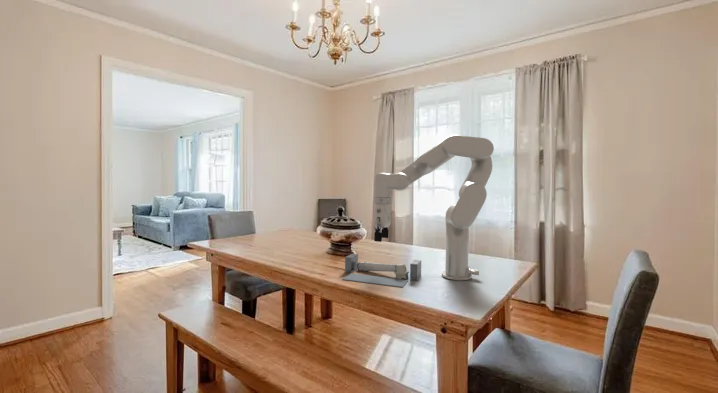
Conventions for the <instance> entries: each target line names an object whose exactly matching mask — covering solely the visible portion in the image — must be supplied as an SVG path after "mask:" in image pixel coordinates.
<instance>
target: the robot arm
mask: <svg viewBox="0 0 718 393" xmlns="http://www.w3.org/2000/svg"><path fill="white" fill-rule="evenodd" d="M493 153H494V144H493V142H492V141H491V139H488V138H485V137H478V136H469V135H462V134H461V135H460V134H452V135H449V136H447V137H446V138H444V139H443V140H441V141H440V142H438V143H437V144H435V145H434V146H433V147H431V148H430V149H428V150H427V151H426V152H424V153H423V154H421V155H420V156H419V157H418V158H416V159H415V161H413V162H412V163H410V164H409V165H408V166H406V167H405V168H404V169H402V170H401V171H399V172H398V173H388V172H387V173H386V172H377V173H376V174H374V198H373V205H375V207H374V218H373V219H374V220H373V221H374V222H373V225H374V232H373V233H374V239H373V241H374V242H379V243H381V242H383V241H382V240H383V239H389V236H390V235H389V232H390V230H389V229H390V226H391V223H392V219H391V218H392V217H391V216H392V214H391V213H392V212H391V205H392V190H395V191H404V190H407V189H408V188H409V186H410V185H412V184H413V183H414V182H416V181H418V180H419V179H420V178H423V177H424V176H427V175H429V174H430V173H432V172H434V171H435V170H437V169H438V168H440V167H441V166H443V165H445V163H447V162H448V161H450V160H451V159H453V158H455V156H456V157H464V158H469V159H470V161H471V167H470V169H469V172H468V173H467V176H466V178H465V179H464V181H463V183H462V184H461V186H460V188H459V191H458V198H459V199H458V200H457V202H456V203H455V204H452V205H450V206H449V207H448V208H447V210H446V211H445V235H446V236H445V268H444V269H445V270H443V271H441V276H442V277H443V278H445V279H447V280H451V281H468V280H471V279H472V277H473V276H472V275H474V276H480V271H479V270H477V269H471V268H470V266H469V249H470V248H469V244H470V230H469V229H470V227H471V226H472V225H473V224H474V222H475V220H476V219H477V217H478V215H479V213H480V212H481V210H482V208H483V206H484V204H485V202H486V199H487V193H488V192H487V189H486V185H487V183H488V181H489V180H490V177H491V174H492V172H493V160H492V155H493Z"/></svg>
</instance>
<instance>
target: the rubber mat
mask: <svg viewBox="0 0 718 393" xmlns="http://www.w3.org/2000/svg"><path fill="white" fill-rule="evenodd" d="M341 280H342V281H348V282H349V281H350V282H355V283H365V284H372V285H379V286H387V287H395V288H396V287H397V288H404V286H405V285H406V284H407V283H409V280H408V279H404V278H402V279H398V278H394V277H393V278H391V277H385V276H377V275H370V274H369V275H368V274H360V273H353V272H352V273H348V275H346V276H344V277H343V278H342V279H341Z"/></svg>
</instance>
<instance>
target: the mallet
mask: <svg viewBox="0 0 718 393" xmlns="http://www.w3.org/2000/svg"><path fill="white" fill-rule="evenodd" d="M357 271H361V272H394V275H395V279H403V280H407V279H408V278H409V274H410V270H407V266H406V264H404V263H397V264H391V263H379V262H368V261H362V262H361V261H360V262H359V261H358V265H357Z"/></svg>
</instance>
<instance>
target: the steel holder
mask: <svg viewBox="0 0 718 393" xmlns="http://www.w3.org/2000/svg"><path fill="white" fill-rule="evenodd" d="M358 263H359V254H358V253H351V254H349V255H346V256H345V257H344V273H345V274H351V273H352V274H353V273H354V272H355V271H358V269H357V265H358ZM409 268H410V269H409V280H410V281H412V282H413V281H414V282H418V280H420V278H421V277H422V259H413V261H412V262H410V264H409Z"/></svg>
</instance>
